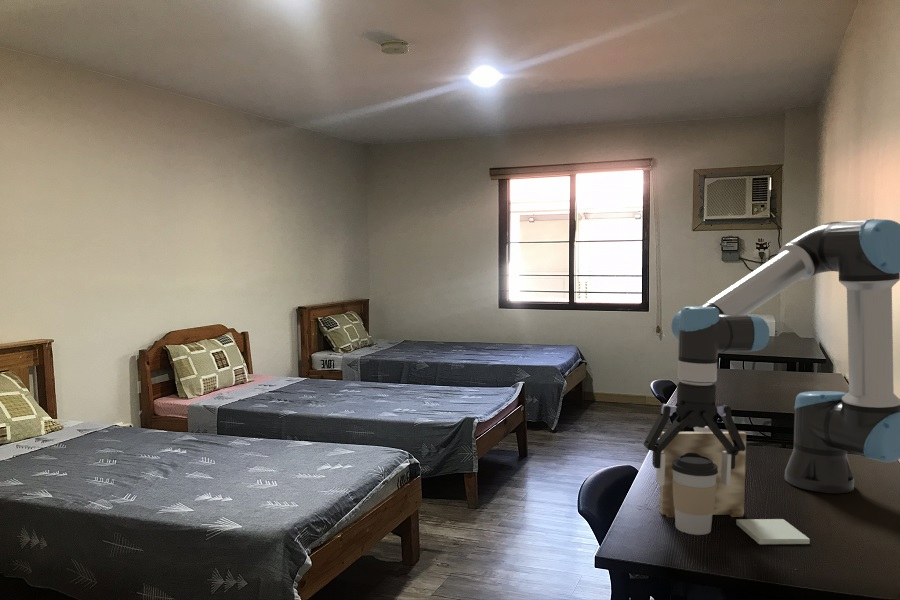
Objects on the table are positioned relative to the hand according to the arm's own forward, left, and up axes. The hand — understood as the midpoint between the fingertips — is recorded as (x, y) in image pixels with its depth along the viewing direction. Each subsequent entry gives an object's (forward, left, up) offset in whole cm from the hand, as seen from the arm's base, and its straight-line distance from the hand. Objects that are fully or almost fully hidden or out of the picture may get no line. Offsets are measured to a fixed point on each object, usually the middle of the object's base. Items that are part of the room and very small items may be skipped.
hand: (692, 483), depth 138 cm
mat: (-15, +3, -9) cm, 18 cm away
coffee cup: (0, 0, -10) cm, 10 cm away
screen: (-5, -8, -9) cm, 13 cm away
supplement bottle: (-16, -35, -10) cm, 40 cm away
